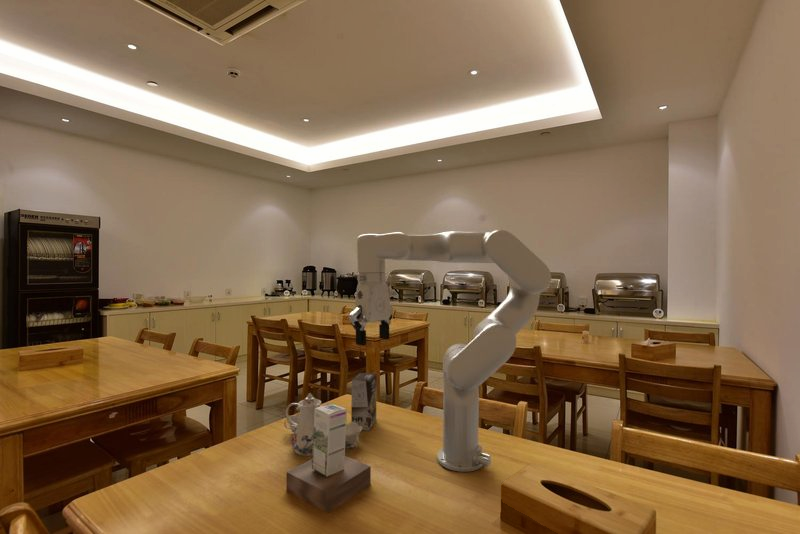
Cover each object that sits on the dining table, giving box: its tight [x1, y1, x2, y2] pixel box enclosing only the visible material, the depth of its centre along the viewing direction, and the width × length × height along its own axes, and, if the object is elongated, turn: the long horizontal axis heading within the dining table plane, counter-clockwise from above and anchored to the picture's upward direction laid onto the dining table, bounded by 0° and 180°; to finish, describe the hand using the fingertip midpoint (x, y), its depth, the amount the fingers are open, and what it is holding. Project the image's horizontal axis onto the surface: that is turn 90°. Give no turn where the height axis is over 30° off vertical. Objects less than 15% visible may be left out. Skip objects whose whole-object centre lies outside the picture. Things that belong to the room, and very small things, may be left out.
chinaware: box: [284, 392, 363, 457], centre depth 118 cm, size 28×17×17 cm, turn 70°
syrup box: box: [311, 403, 348, 477], centre depth 95 cm, size 6×6×14 cm
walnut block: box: [285, 455, 372, 514], centre depth 95 cm, size 14×14×5 cm
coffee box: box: [350, 372, 378, 432], centre depth 132 cm, size 9×6×16 cm
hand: (373, 341), depth 109 cm, fingers open, 9 cm apart
